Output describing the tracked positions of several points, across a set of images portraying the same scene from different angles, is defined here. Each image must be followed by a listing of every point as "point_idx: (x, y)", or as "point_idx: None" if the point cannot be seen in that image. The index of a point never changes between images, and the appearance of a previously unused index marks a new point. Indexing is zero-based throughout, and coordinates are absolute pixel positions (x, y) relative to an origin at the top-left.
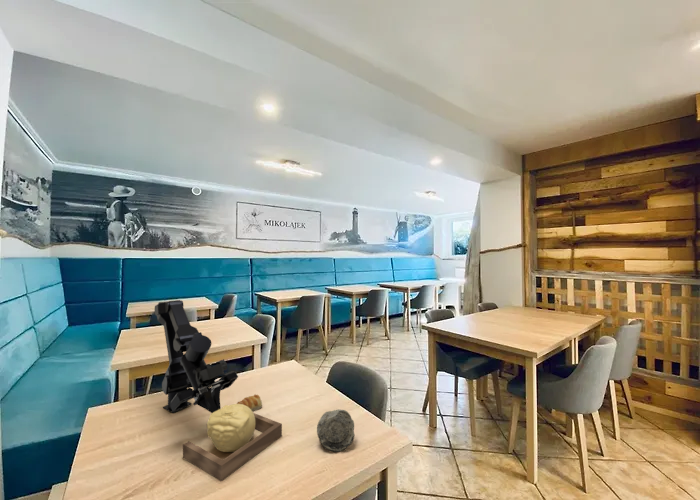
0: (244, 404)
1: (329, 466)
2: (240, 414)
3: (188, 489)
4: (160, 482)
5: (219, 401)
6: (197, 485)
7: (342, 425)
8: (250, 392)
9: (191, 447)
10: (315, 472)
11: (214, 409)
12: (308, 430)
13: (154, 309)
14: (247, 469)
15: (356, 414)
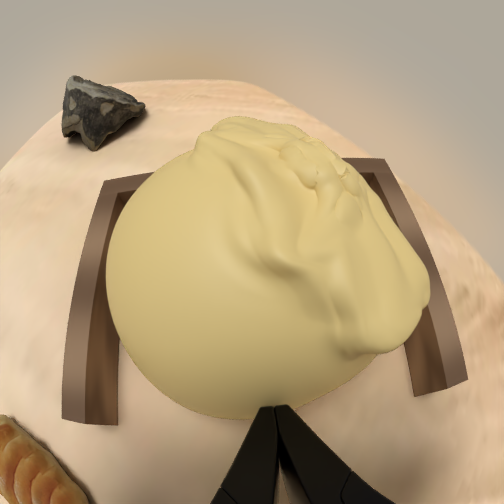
0: (34, 475)
1: (182, 96)
2: (257, 126)
3: (442, 230)
4: (492, 311)
5: (228, 486)
6: (424, 225)
7: (98, 86)
8: None
9: (450, 324)
10: (208, 98)
11: (319, 440)
12: (77, 182)
13: None
14: None
15: (15, 163)
